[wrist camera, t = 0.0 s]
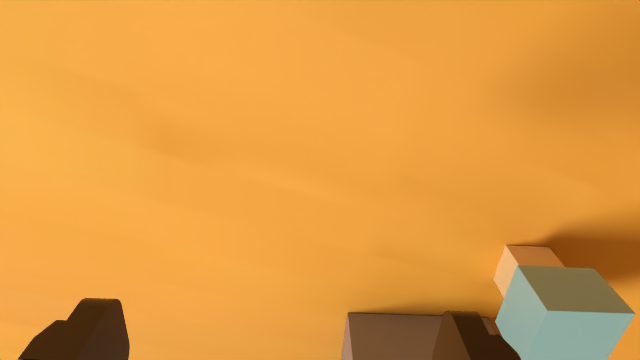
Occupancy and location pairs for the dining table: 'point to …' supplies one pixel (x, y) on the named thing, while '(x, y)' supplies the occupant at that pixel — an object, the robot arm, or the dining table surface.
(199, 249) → the dining table surface
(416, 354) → the socket
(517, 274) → the plug
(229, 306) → the dining table surface
